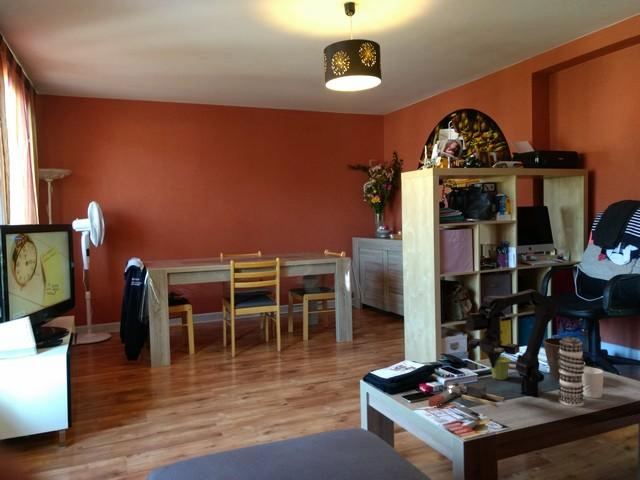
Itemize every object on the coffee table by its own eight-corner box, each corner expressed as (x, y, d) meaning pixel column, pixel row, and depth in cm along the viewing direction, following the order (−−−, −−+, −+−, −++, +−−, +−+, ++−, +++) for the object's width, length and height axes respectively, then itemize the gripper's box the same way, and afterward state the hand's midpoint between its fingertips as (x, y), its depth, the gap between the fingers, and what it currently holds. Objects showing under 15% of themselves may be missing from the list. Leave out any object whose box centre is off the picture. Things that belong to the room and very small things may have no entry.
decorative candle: (554, 397, 199) (553, 335, 198) (578, 398, 198) (578, 335, 197) (562, 406, 190) (562, 341, 189) (588, 407, 189) (588, 341, 188)
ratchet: (483, 396, 203) (483, 386, 203) (457, 413, 187) (457, 402, 187) (452, 388, 213) (452, 379, 212) (424, 404, 196) (424, 393, 196)
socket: (486, 398, 201) (486, 385, 201) (480, 401, 198) (480, 389, 197) (472, 394, 205) (472, 382, 205) (466, 398, 202) (466, 386, 201)
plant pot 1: (486, 374, 230) (486, 355, 229) (508, 374, 229) (508, 355, 228) (490, 381, 221) (490, 361, 220) (513, 381, 219) (513, 361, 219)
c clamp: (543, 368, 237) (543, 363, 237) (527, 378, 225) (527, 372, 225) (502, 360, 252) (502, 355, 251) (485, 368, 240) (485, 363, 240)
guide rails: (503, 400, 198) (503, 397, 198) (495, 406, 192) (495, 403, 192) (470, 392, 207) (470, 389, 207) (461, 398, 202) (461, 395, 202)
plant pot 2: (552, 370, 233) (552, 335, 232) (586, 377, 222) (586, 341, 221) (537, 377, 223) (537, 342, 222) (573, 385, 212) (572, 348, 211)
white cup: (602, 393, 203) (602, 368, 202) (604, 399, 196) (604, 374, 195) (580, 390, 206) (580, 366, 206) (581, 397, 199) (581, 372, 198)
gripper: (461, 329, 198) (462, 368, 199) (509, 336, 186) (509, 377, 187) (473, 324, 207) (474, 361, 207) (519, 330, 194) (520, 369, 195)
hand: (493, 367), depth 199 cm, fingers closed
